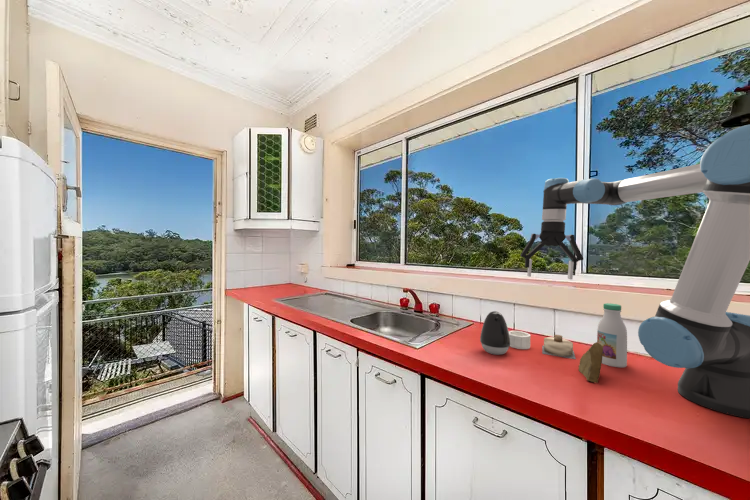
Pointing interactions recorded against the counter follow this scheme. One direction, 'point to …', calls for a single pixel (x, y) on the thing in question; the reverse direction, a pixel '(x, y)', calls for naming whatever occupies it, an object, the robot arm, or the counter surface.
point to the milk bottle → (613, 336)
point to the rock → (592, 362)
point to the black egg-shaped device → (495, 334)
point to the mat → (556, 355)
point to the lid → (558, 346)
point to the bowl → (519, 339)
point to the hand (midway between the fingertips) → (549, 277)
